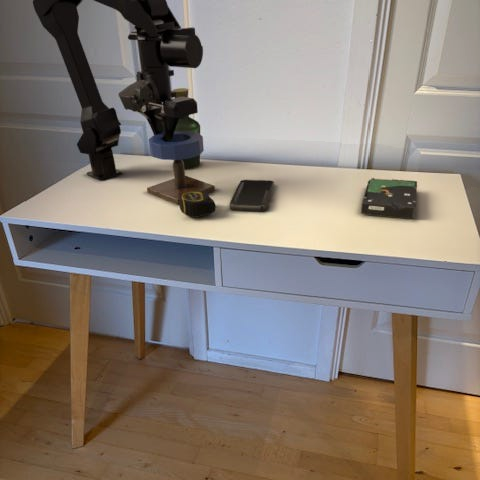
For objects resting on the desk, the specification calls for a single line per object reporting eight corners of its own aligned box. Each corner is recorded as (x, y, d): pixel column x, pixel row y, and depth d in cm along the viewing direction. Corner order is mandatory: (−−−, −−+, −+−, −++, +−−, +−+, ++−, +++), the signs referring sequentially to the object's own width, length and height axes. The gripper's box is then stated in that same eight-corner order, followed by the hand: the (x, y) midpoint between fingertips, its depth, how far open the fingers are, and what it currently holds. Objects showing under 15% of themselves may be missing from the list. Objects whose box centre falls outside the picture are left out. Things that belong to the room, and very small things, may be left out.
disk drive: (414, 221, 96) (415, 192, 108) (416, 207, 95) (417, 179, 106) (360, 216, 99) (366, 188, 110) (361, 202, 97) (368, 176, 108)
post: (147, 192, 112) (142, 159, 108) (184, 179, 119) (181, 148, 114) (178, 205, 106) (174, 170, 102) (215, 190, 112) (213, 157, 108)
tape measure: (217, 217, 100) (216, 199, 98) (184, 222, 99) (182, 204, 96) (208, 204, 105) (207, 188, 103) (177, 209, 104) (175, 192, 102)
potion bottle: (205, 168, 125) (200, 91, 114) (173, 172, 123) (165, 94, 113) (200, 159, 131) (194, 85, 121) (170, 162, 130) (161, 88, 119)
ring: (140, 153, 107) (138, 139, 105) (178, 142, 114) (177, 128, 112) (175, 163, 101) (173, 148, 99) (213, 150, 107) (212, 136, 106)
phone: (228, 204, 102) (241, 179, 114) (229, 209, 103) (241, 184, 115) (266, 206, 101) (275, 180, 113) (266, 211, 101) (275, 185, 113)
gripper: (95, 66, 101) (109, 144, 110) (150, 76, 90) (161, 161, 99) (139, 59, 107) (149, 133, 116) (196, 67, 96) (202, 148, 105)
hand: (163, 143), depth 109 cm, fingers closed on ring, 2 cm apart
